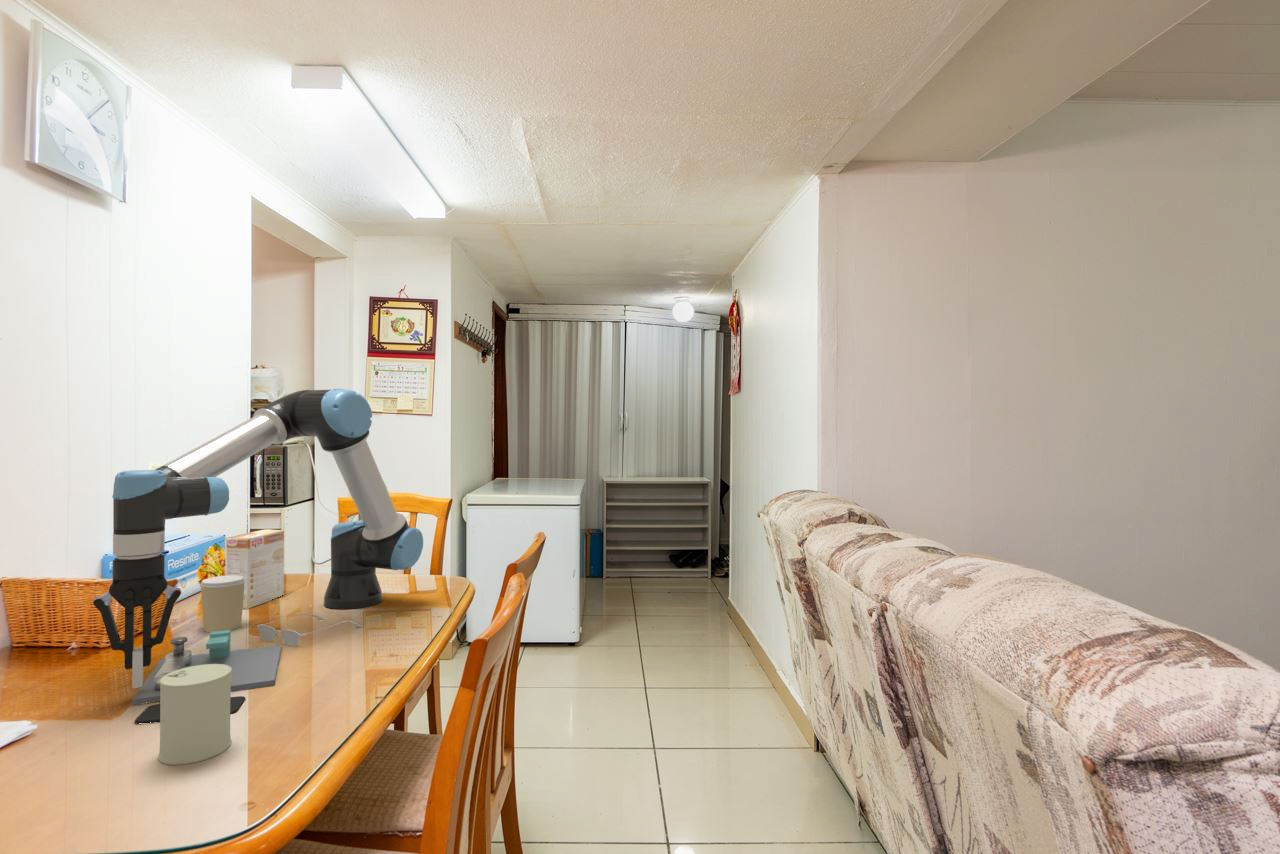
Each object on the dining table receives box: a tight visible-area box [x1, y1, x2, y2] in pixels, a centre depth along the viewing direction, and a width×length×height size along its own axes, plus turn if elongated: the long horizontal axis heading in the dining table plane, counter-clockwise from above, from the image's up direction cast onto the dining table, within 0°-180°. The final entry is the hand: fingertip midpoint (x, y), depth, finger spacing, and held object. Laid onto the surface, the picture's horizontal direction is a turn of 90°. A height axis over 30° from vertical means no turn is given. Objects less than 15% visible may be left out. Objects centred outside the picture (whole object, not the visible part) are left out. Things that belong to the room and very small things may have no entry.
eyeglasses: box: [256, 612, 362, 647], centre depth 159 cm, size 15×18×4 cm
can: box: [157, 664, 232, 766], centre depth 100 cm, size 9×9×12 cm
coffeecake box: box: [225, 528, 285, 610], centre depth 187 cm, size 15×7×20 cm, turn 172°
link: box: [154, 636, 193, 689], centre depth 128 cm, size 17×4×5 cm, turn 26°
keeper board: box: [131, 630, 282, 706], centre depth 131 cm, size 22×23×6 cm
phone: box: [134, 695, 246, 725], centre depth 114 cm, size 7×1×15 cm
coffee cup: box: [199, 575, 245, 633], centre depth 162 cm, size 9×9×12 cm
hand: (137, 685), depth 120 cm, fingers closed
